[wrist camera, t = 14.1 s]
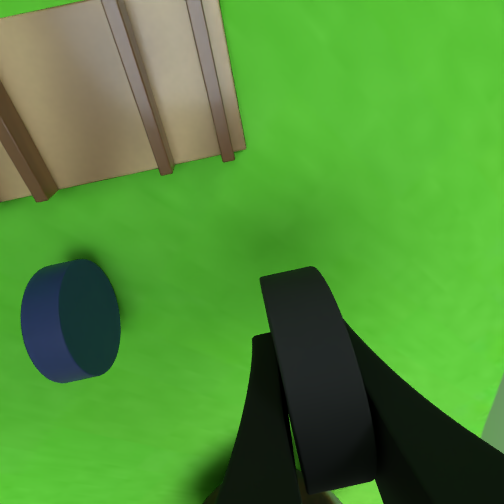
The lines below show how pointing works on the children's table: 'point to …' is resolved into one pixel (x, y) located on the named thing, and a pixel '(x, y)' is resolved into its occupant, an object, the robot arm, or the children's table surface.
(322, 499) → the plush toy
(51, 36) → the disc rack
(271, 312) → the rubber puck
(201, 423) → the children's table surface
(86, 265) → the navy disc
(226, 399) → the children's table surface
